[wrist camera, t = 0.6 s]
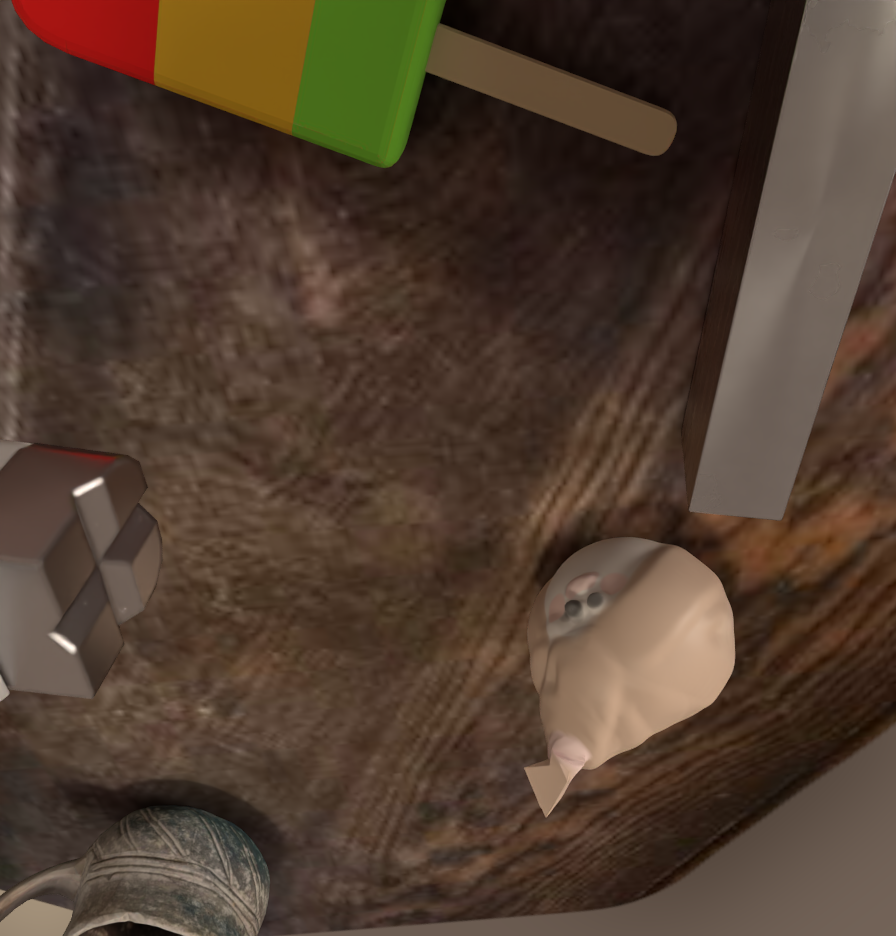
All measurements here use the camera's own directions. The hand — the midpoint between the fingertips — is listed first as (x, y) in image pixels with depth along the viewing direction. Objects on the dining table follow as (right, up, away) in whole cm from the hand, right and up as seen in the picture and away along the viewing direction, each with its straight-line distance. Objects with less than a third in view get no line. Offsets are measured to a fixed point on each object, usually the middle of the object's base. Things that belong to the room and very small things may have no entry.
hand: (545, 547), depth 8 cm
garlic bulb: (+5, -3, +21) cm, 22 cm away
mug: (-15, -18, +37) cm, 44 cm away
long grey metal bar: (+7, +8, +12) cm, 16 cm away
